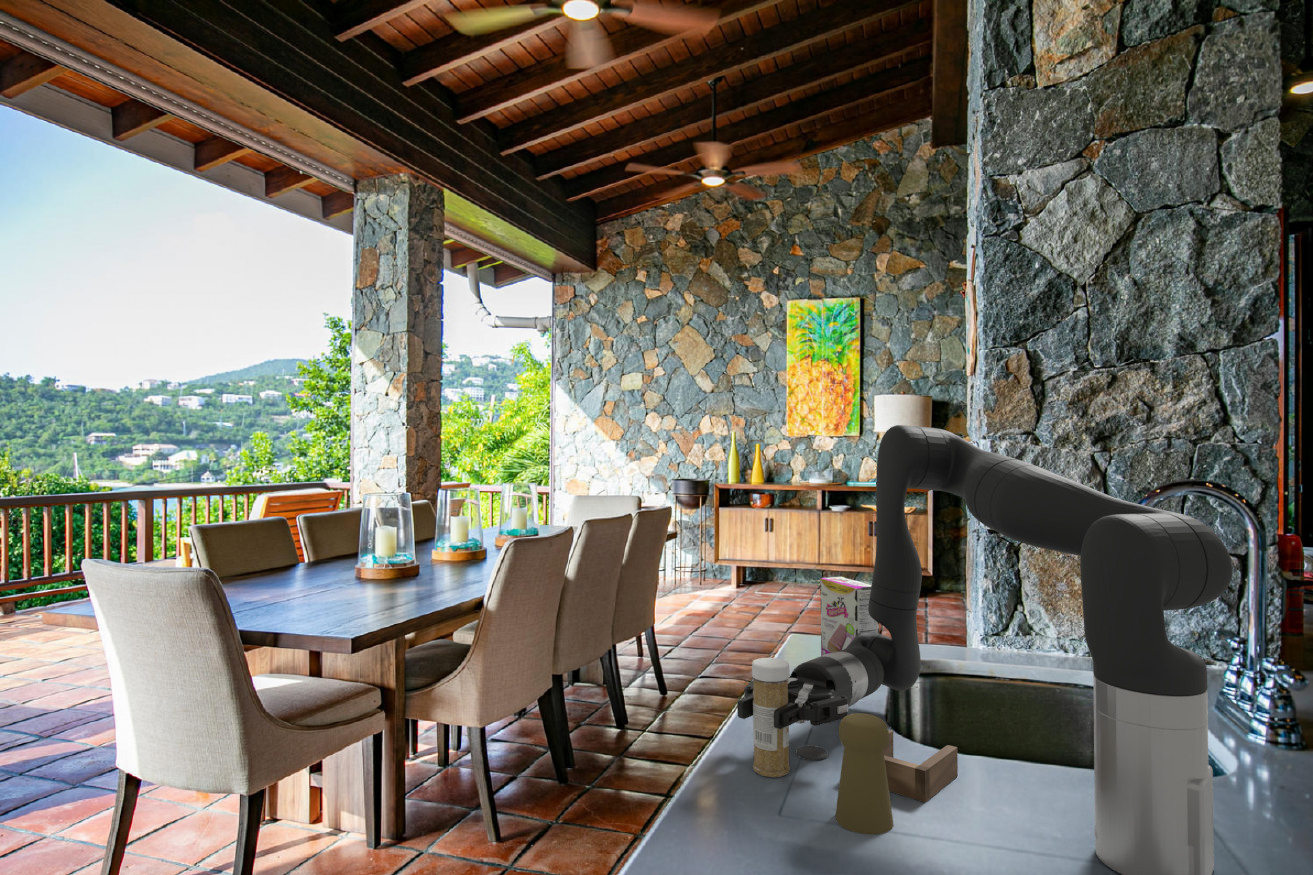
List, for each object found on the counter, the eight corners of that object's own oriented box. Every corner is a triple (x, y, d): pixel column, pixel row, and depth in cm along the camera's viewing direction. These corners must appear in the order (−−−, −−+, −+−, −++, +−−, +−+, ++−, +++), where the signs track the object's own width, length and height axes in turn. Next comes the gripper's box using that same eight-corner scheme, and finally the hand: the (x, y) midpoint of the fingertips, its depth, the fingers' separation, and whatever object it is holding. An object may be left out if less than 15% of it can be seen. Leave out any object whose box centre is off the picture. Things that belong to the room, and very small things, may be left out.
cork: (850, 802, 87) (849, 703, 87) (902, 818, 83) (902, 715, 83) (825, 822, 82) (824, 718, 83) (879, 840, 79) (878, 730, 79)
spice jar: (797, 773, 95) (797, 662, 95) (769, 781, 92) (769, 668, 93) (772, 760, 99) (771, 654, 99) (744, 768, 96) (744, 659, 97)
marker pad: (833, 753, 101) (833, 750, 101) (817, 762, 98) (817, 759, 98) (806, 745, 104) (806, 742, 104) (790, 754, 101) (790, 751, 101)
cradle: (957, 776, 94) (957, 747, 94) (925, 802, 87) (925, 770, 87) (884, 756, 100) (884, 728, 100) (849, 778, 93) (849, 749, 93)
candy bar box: (819, 668, 141) (818, 577, 142) (842, 665, 143) (841, 575, 143) (856, 685, 131) (855, 587, 131) (880, 681, 133) (880, 585, 133)
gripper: (784, 647, 111) (711, 672, 99) (877, 665, 102) (809, 696, 89) (784, 700, 111) (711, 732, 98) (878, 723, 102) (809, 762, 89)
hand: (758, 714), depth 94 cm, fingers open, 4 cm apart
